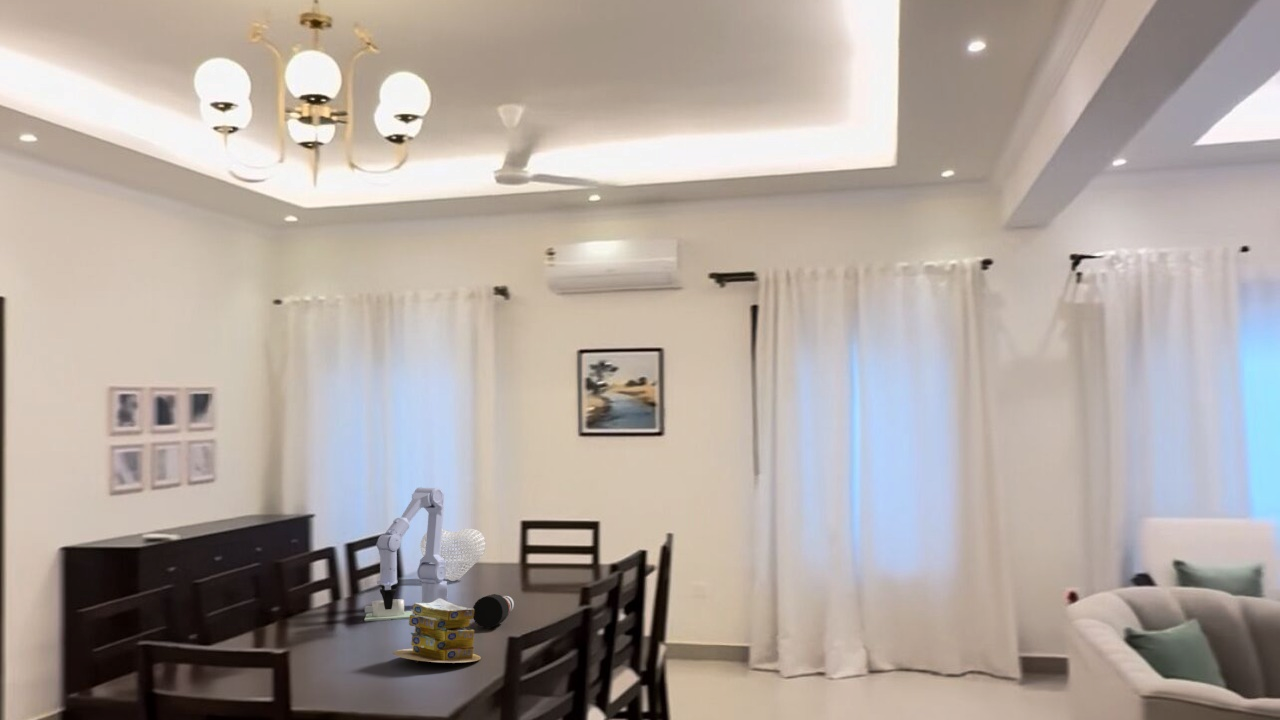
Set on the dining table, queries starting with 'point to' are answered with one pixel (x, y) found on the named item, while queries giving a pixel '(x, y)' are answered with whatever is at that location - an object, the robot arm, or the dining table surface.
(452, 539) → the heart
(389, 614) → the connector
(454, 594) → the dining table surface
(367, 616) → the mat
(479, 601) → the dark bottle
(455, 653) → the stacked yellow boxes
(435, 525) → the robot arm
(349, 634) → the dining table surface
